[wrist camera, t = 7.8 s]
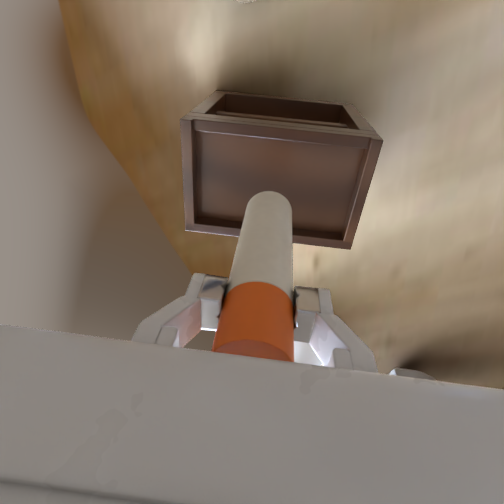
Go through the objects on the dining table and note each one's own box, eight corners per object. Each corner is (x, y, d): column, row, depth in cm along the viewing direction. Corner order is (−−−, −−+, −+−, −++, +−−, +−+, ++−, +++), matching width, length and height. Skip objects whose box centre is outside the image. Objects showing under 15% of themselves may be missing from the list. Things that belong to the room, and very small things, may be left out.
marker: (265, 181, 20) (242, 326, 10) (301, 209, 21) (312, 368, 11) (237, 214, 22) (193, 368, 12) (272, 239, 22) (258, 403, 12)
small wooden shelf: (215, 90, 33) (179, 119, 22) (352, 104, 33) (383, 140, 22) (214, 174, 38) (185, 230, 27) (333, 187, 38) (350, 250, 27)
